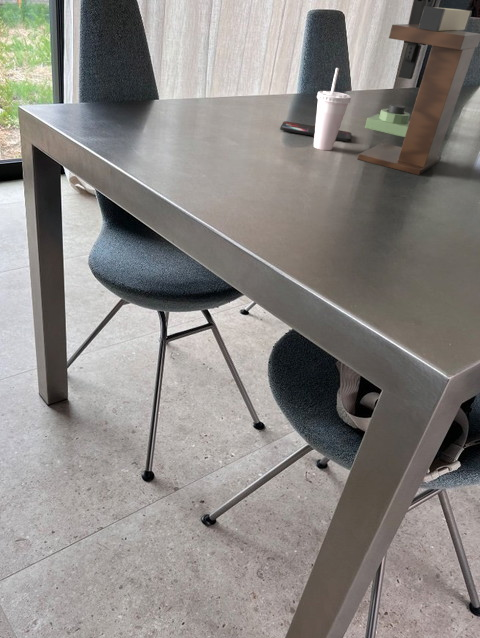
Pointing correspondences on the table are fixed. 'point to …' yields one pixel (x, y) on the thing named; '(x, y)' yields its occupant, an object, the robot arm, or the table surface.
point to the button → (396, 109)
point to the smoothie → (329, 116)
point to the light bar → (444, 19)
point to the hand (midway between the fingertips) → (405, 77)
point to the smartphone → (311, 130)
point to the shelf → (428, 98)
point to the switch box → (389, 122)
